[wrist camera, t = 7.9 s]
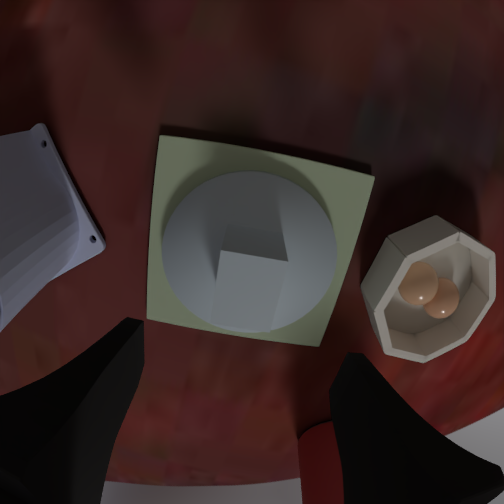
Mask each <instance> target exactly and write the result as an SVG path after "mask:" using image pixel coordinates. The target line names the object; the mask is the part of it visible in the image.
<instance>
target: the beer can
mask: <svg viewBox="0 0 504 504" xmlns="http://www.w3.org/2000/svg"><path fill="white" fill-rule="evenodd" d="M298 455H299V466H300V478H301V490H302V503H303V504H344V492H343V475H342V467H341V461H340V456H339V451H338V446H337V441H336V437H335V432H334V427H333V422H332V420H331V421H327V422H323V423H320V424H318V425H315V426H313V427H311V428H310V429H308V430H307V431H305V432H304V433H303V435H302V436H301V437H300V438H299V441H298Z"/></svg>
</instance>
